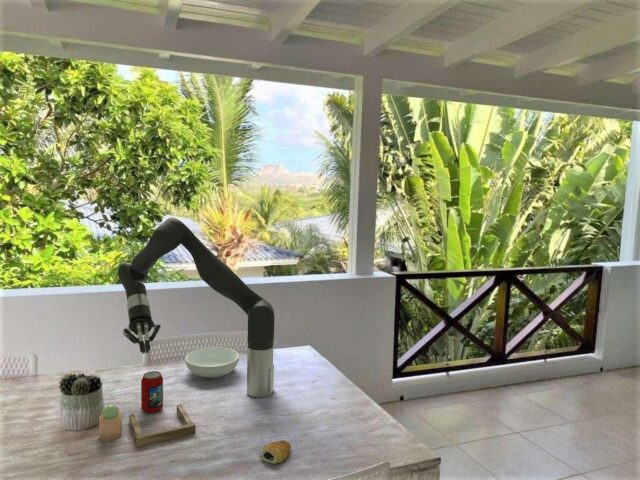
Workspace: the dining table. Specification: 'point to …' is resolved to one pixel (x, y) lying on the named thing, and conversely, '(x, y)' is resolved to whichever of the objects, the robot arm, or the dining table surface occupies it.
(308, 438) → the dining table surface
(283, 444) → the pastry
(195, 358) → the serving bowl
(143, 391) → the beverage can
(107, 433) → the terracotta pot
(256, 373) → the robot arm
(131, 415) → the corral
